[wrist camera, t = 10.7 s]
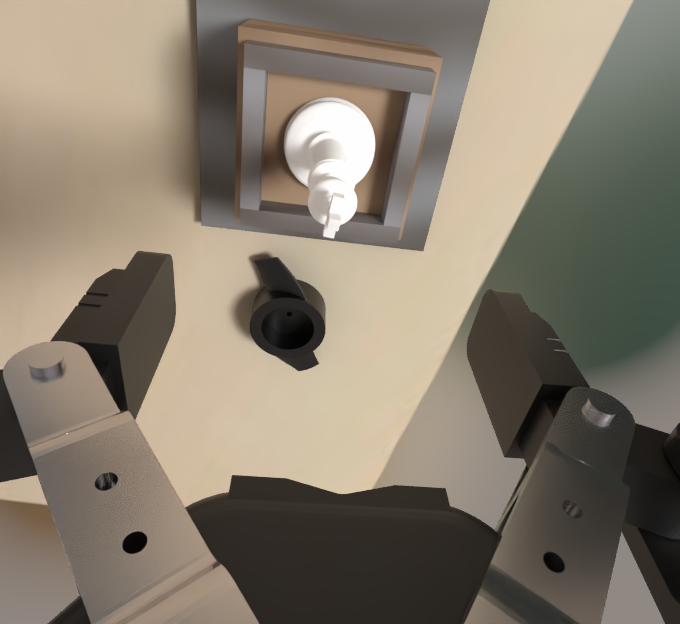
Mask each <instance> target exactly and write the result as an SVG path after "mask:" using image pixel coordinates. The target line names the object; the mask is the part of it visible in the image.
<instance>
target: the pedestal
mask: <svg viewBox="0 0 680 624" xmlns="http://www.w3.org/2000/svg"><path fill="white" fill-rule="evenodd" d="M489 2H490V0H196V11H197V55H198V99H199V143H200V186H201V226H210V227H219V228H227V229H236V230H244V231H253V232H262V233H270V234H279V235H288V236H296V237H305V238H314V239H322V240H331V241H339V242H348V243H357V244H365V245H374V246H383V247H391V248H400V249H408V250H417V251H423V250H424V246H425V242H426V238H427V235H428V231H429V227H430V223H431V220H432V216H433V212H434V208H435V205H436V201H437V197H438V193H439V190H440V186H441V182H442V178H443V175H444V171H445V167H446V164H447V160H448V156H449V152H450V149H451V145H452V141H453V137H454V134H455V130H456V126H457V122H458V119H459V115H460V111H461V107H462V104H463V100H464V96H465V92H466V89H467V85H468V81H469V77H470V74H471V70H472V66H473V62H474V59H475V55H476V51H477V47H478V44H479V40H480V36H481V32H482V29H483V25H484V21H485V17H486V14H487V10H488V6H489ZM326 97H333V98H340V99H343V100H346V101H348V102H350V103H352V104H354V105H355V106H357V107H358V108H359V109H360V110H361V111H362V112H363V113H364V114H365V115H366V117H367V118H368V120H369V121H370V123H371V125H372V128H373V131H374V135H375V153H374V158H373V162H372V164H371V167H370V169H369V171H368V172H367V174H366V175H365V176H364V178H363V179H362V180H361V181H360V182H358V183H357V184H356V185H355V188H354V191H355V193H356V196H357V208H356V211H355V213H354V215H353V217H352V218H351V219H350V220H349V221H347V222H346V223H344V224H342V225H340V227H339V230H338V231H336V232H335V236H334V239H333V238H328V237H324V236H323V229H324V225H323V224H321V223H319V222H318V221H316V220H315V219H314V218H313V216H312V215H311V213H310V211H309V208H308V197H309V194H310V191H309V188H308V187H307V186H305V185H304V184H302V183H301V182H300V181H299V180H298V179H297V178H296V177H295V176H294V174H293V173H292V171H291V170H290V168H289V166H288V163H287V160H286V157H285V152H284V135H285V131H286V128H287V125H288V123H289V121H290V119H291V118H292V116H293V115H294V114H295V113H296V112H297V111H298V110H299V109H300V108H301V107H302V106H304V105H305V104H307V103H308V102H310V101H313V100H316V99H319V98H326Z"/></svg>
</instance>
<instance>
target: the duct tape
mask: <svg viewBox="0 0 680 624" xmlns="http://www.w3.org/2000/svg"><path fill="white" fill-rule="evenodd" d="M255 263H256V265H257V267H258V269H259V271H260V273H261V276H262V278H263V281H264V284H265V287H264V288H262V289H261V291H260V292H259V293H258V295H257V297H256V299H255V303H254V307H253V312H252V316H251V321H250V332H251V335H252V338H253V340H254V341H255V343H256V344H257V345H258V346H259V347H260V348H261V349H263V350H264V351H266V352H267V353H269V354H272V355H274V356H277V357H278V358H279V359H281V360H282V361H284V362H286V363H287V364H289V365H290V366H292V367H293V368H295V369H296V370H298V371H302V370H306V369H309V368H312V367H314V366H316V365H318V364H319V363H318V361H317V359H316V357H315V355H314V352H313V351H314V350H315V349H316V348H317V347H318V346H319V345H320V344H321V342H322V341H323V338H324V336H325V303H324V300H323V298H322V296H321V294H320V293H319V292H318V291H317V290H316V289H315V288H314V287H313V286H311V285H310V284H308V283H306V282H303V281H300V280H296V279H295V277H294V276H293V275H292V273H291V272H290V271H289V270H288V268H287V267H286V266H285V265H284V264H283V263H282V261H281V260H280V259H279V258H278V257H273V258H264V259H260V260H256V261H255Z"/></svg>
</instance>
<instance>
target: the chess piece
mask: <svg viewBox="0 0 680 624" xmlns="http://www.w3.org/2000/svg"><path fill="white" fill-rule="evenodd" d="M284 152H285V157H286V160H287V163H288V166H289V168H290V170H291V171H292V173H293V174H294V176H295V177H296V178H297V179H298V180H299V181H300V182H301V183H302V184H304V185H305V186H307V187H308V188H309V191H310V194H309V197H308V208H309V211H310V213H311V215H312V216H313V218H314V219H315V220H316V221H318V222H319V223H321V224H323V225H324V229H323V236H324V237H328V238H333V239H334V236H335V232H336V231H338V230H339V227H340V225H342V224H344V223H346V222H347V221H349V220H350V219H351V218H352V217H353V215H354V213H355V211H356V208H357V196H356V193H355V191H354V188H355V185H356V184H357V183H358V182H360V181H361V180H362V179H363V178H364V176H365V175H366V174H367V172H368V171H369V169H370V167H371V164H372V162H373V158H374V153H375V135H374V131H373V128H372V125H371V123H370V121H369V120H368V118H367V117H366V115H365V114H364V113H363V112H362V111H361V110H360V109H359V108H358V107H357V106H355V105H354V104H352V103H350V102H348V101H346V100H343V99H340V98H333V97H326V98H319V99H316V100H313V101H310V102H308V103H307V104H305V105H304V106H302V107H301V108H300V109H299V110H298V111H297V112H296V113H295V114H294V115H293V116H292V118H291V119H290V121H289V123H288V125H287V128H286V131H285V135H284Z"/></svg>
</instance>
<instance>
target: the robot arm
mask: <svg viewBox="0 0 680 624" xmlns="http://www.w3.org/2000/svg"><path fill="white" fill-rule="evenodd" d="M175 315H176V303H175V288H174V273H173V261H172V257H171V255H170V254H162V253H153V252H144V251H138V252H136V254H135V255H134V257H133V258H132V260H131V261H130V263H129V264H128V266H127V267H126V269H125V270H122V269H112V270H110V271H109V272H107V273H105V274H104V275H102V276H100V277H99V278H97V279H96V280H95V281H94V283H93V284H92V285H91V287H90V288H89V289H88V291H87V292H86V295H84V296H83V298H82V299H81V300H80V302H79V305H78V306H76V307H75V308H74V310H73V311H72V312H71V314H70V315H69V317H68V318H67V319H66V321H65V322H64V323H63V325H62V326H61V327H60V329H59V330H58V331H57V333H56V334H55V336H54V337H53V338H52V340H51V341H50V342H44V343H40V344H36V345H33V346H30V347H28V348H26V349H23V350H22V351H20V352H18V353H17V354H15V355H14V356H13V357H12V358H11V359H10V360H9V361H8V362H7V363H6V365H5V367H4V369H3V370H0V482H4V481H9V480H14V479H19V478H24V477H29V476H34V475H38V478H39V481H40V484H41V487H42V489H43V492H44V495H45V498H46V501H47V504H48V506H49V509H50V512H51V515H52V518H53V520H54V523H55V526H56V528H57V532H58V535H59V537H60V540H61V543H62V546H63V549H64V552H65V554H66V557H67V560H68V563H69V566H70V569H71V571H72V574H73V577H74V580H75V583H76V586H77V589H78V591H79V594H80V596H79V597H78V598H77V599H75V600H74V601H73V602H72V603H71V604H70V605H68V606H67V607H66V608H65V609H64V610H63V611H62V612H60V613H59V614H58V615H57V616H56V617H55V618H54V619H53V620H51V621H50V622H49V623H48V624H601V621H602V616H603V612H604V607H605V603H606V599H607V594H608V590H609V585H610V581H611V577H612V572H613V567H614V563H615V559H616V554H617V550H618V545H619V541H620V537H621V532H622V533H623V535H624V537H625V539H626V541H627V543H628V546H629V548H630V550H631V552H632V554H633V556H634V558H635V560H636V563H637V565H638V567H639V569H640V571H641V573H642V575H643V577H644V580H645V582H646V584H647V586H648V588H649V590H650V592H651V594H652V596H653V599H654V601H655V603H656V605H657V607H658V609H659V611H660V613H661V616H662V618H663V620H664V622H665V624H680V423H679V424H678V425H677V426H676V427H675V429H674V430H673V431H672V433H671V434H668V433H665V432H662V431H659V430H655V429H652V428H649V427H646V426H643V425H639V424H636V423H635V420H634V417H633V415H632V414H631V412H630V411H629V410H628V408H627V407H626V406H625V405H623V403H621V402H620V401H619V400H617V399H616V398H614V397H613V396H611V395H609V394H607V393H605V392H603V391H600V390H598V389H594V388H590V386H589V385H588V383H587V382H586V380H585V379H584V377H583V375H582V374H581V372H580V371H579V369H578V368H577V366H576V364H575V363H574V361H573V360H572V358H571V357H570V355H569V353H566V349H565V347H564V346H563V344H562V342H559V338H558V336H557V335H556V333H555V331H554V330H553V328H552V327H551V325H549V324H548V323H547V322H546V321H545V320H543V319H542V318H541V317H540V316H539V315H537V314H536V313H533V312H531V311H530V310H529V308H528V306H527V305H526V303H525V301H524V300H523V298H522V296H521V295H520V294H519V293H517V292H511V291H501V290H492V289H489V290H487V291H486V293H485V294H484V296H483V299H482V301H481V304H480V307H479V310H478V312H477V315H476V318H475V320H474V323H473V326H472V329H471V331H470V334H469V337H468V342H467V357H468V360H469V363H470V366H471V368H472V371H473V374H474V377H475V379H476V382H477V384H478V387H479V390H480V393H481V395H482V398H483V401H484V403H485V406H486V409H487V412H488V414H489V417H490V420H491V422H492V425H493V428H494V430H495V433H496V436H497V439H498V441H499V444H500V447H501V449H502V452H503V454H504V457H509V458H523V459H524V460H525V462H526V467H525V468H524V470H523V472H522V474H521V476H520V478H519V480H518V482H517V484H516V486H515V488H514V490H513V492H512V494H511V496H510V498H509V500H508V503H507V504H506V507H505V509H504V511H503V513H502V515H501V517H500V519H499V521H498V523H497V525H496V527H495V529H492V528H491V527H490V526H488V525H487V524H485V523H484V522H482V521H481V520H479V519H478V518H476V517H474V516H472V515H470V514H468V513H466V512H464V511H462V510H459V509H457V508H454V507H451V506H450V505H449V501H448V497H447V493H446V489H445V488H429V487H414V486H398V485H394V486H388V487H383V488H378V489H372V490H366V491H361V492H355V493H350V494H337V493H333V492H330V491H327V490H323V489H320V488H317V487H313V486H310V485H307V484H303V483H300V482H296V481H293V480H290V479H286V478H270V477H254V476H238V475H232V479H231V484H230V490H229V492H227V493H222V494H217V495H214V496H211V497H207V498H204V499H202V500H200V501H197V502H195V503H193V504H191V505H189V506H187V507H184V505H183V503H182V502H181V500H180V498H179V496H178V495H177V493H176V491H175V489H174V488H173V486H172V484H171V482H170V481H169V479H168V477H167V475H166V474H165V472H164V470H163V468H162V467H161V465H160V463H159V461H158V460H157V458H156V456H155V455H154V453H153V451H152V449H151V448H150V446H149V444H148V442H147V441H146V439H145V437H144V435H143V434H142V432H141V430H140V428H139V427H138V425H137V423H136V421H135V419H136V417H137V414H138V412H139V410H140V407H141V405H142V403H143V400H144V398H145V395H146V393H147V391H148V388H149V386H150V383H151V381H152V379H153V376H154V374H155V371H156V369H157V367H158V364H159V362H160V360H161V357H162V355H163V352H164V350H165V348H166V345H167V343H168V340H169V338H170V336H171V333H172V331H173V327H174V323H175Z"/></svg>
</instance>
